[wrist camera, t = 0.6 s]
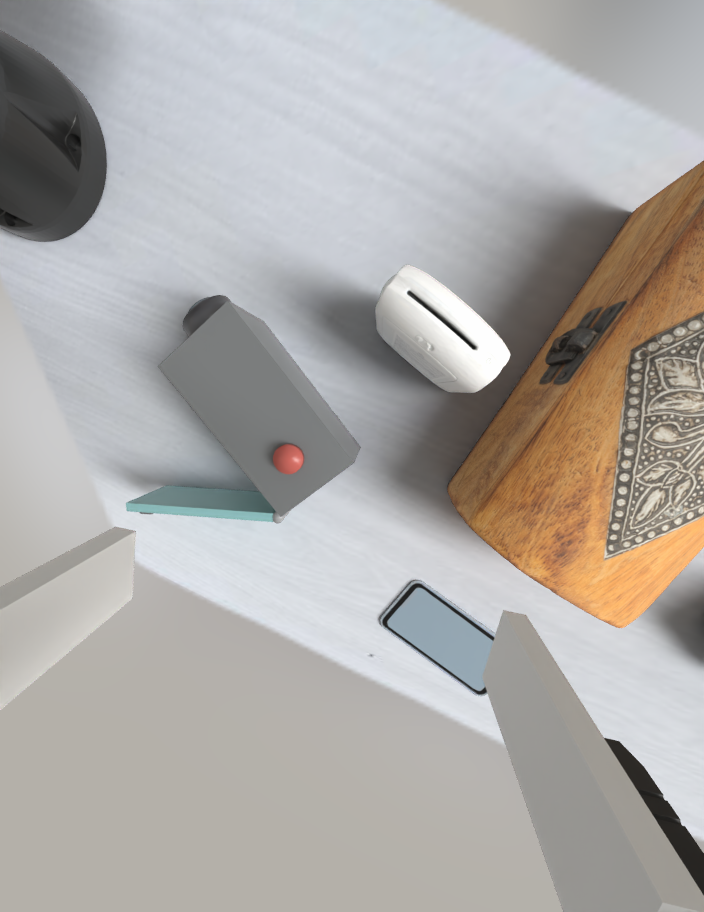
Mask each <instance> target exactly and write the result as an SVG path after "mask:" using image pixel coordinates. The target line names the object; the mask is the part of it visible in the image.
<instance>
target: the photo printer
mask: <svg viewBox="0 0 704 912" xmlns="http://www.w3.org/2000/svg"><path fill="white" fill-rule="evenodd" d="M375 312H376V328H377V332H378V333H379V335H380V336H381V337H382V338H383V340H384V341H385V342H386V343H387V344H389V345H390V346H391V347H392V348H393V349H394V350H395V351H396V352H397V353H398V354H400V355H401V356H402V357H403V358H404V359H405V360H406V361H408V362H409V363H410V364H411V365H412V366H414V367H415V368H416V369H417V370H418V371H419V372H421V373H422V374H423V375H424V376H426V377H427V378H428V379H429V380H431V381H432V382H433V383H434V384H436V385H437V386H438V387H440V388H442V389H443V390H445V391H447V392H463V393H475V392H477V391H479V390H480V389H482V388H483V387H485V386H486V385H487V384H489V383H490V382H491V381H493V380H494V379H495V378H496V377H497V376H498V374H499V373H500V372H501V370H502V368H503V367H504V366H505V365H506V363H507V362H508V360H509V358H510V352H509V350H508V348H507V346H506V345H505V343H504V342H503V340H502V339H501V338H500V337H499V336H498V334H497V333H496V332H495V331H494V330H493V329H492V328H491V327H490V326H489V325H488V324H487V323H486V322H485V321H484V320H483V319H482V318H481V317H480V316H479V315H478V314H477V313H476V312H475V311H474V310H473V309H472V308H470V307H469V306H468V305H467V304H466V303H465V302H464V301H462V300H461V299H460V298H459V297H458V296H456V295H455V294H454V293H453V292H451V291H450V290H449V289H448V288H446V287H445V286H444V285H443V284H441V283H440V282H439V281H437V280H436V279H434V278H433V277H431V276H430V275H428V274H427V273H425V272H424V271H422V270H420V269H418V268H416V267H413V266H410V265H405V266H404V267H402V268H401V269H400V271H399V272H398V273H397V274H396V275H394V276H393V277H391V278H390V279H389V280H388V281H387V283H386V284H385V285H384V287H383V289H382V291H381V294H380V299H379V301H378V303H377V305H376V308H375Z"/></svg>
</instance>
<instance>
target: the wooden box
mask: <svg viewBox="0 0 704 912" xmlns="http://www.w3.org/2000/svg"><path fill="white" fill-rule="evenodd" d="M447 490H448V494H449V496H450V498H451V500H452V503H453V505H454V507H455V508H456V510H457V512H458V513H459V514H460V516H461V517H463V519H464V521H465V522H466V523H467V524H468V526H469V527H470V528H471V529H472V530H473V531H474V532H475V533H476V534H478V535H479V536H480V537H481V538H482V539H483V540H484V541H485V542H486V543H487V544H489V545H490V546H491V547H492V548H493V549H494V550H495V551H497V552H498V553H499V554H500V555H501V556H503V557H504V558H505V559H507V560H508V561H509V562H510V563H511V564H513V565H514V566H515V567H516V568H518V569H519V570H521V571H522V572H523V573H525V574H526V575H528V576H529V577H530V578H532V579H534V580H535V581H537V582H538V583H540V584H541V585H543V586H544V587H546V588H548V589H550V590H551V591H552V592H554V593H555V594H557V595H559V596H560V597H562V598H563V599H565V600H567V601H568V602H570V603H572V604H573V605H575V606H577V607H579V608H580V609H582V610H584V611H586V612H587V613H589V614H591V615H593V616H594V617H596V618H598V619H600V620H602V621H604V622H606V623H608V624H610V625H613V626H615V627H618V628H623V627H626V626H627V625H628V624H630V623H631V622H633V621H634V620H635V619H637V618H638V617H639V616H640V615H641V614H642V613H643V612H644V611H645V610H646V609H647V608H648V607H649V606H650V605H651V604H652V603H653V602H654V601H655V600H656V599H657V598H658V597H659V596H660V594H661V593H662V592H663V591H664V590H665V589H666V588H667V587H668V586H669V584H670V583H671V582H672V581H673V580H674V579H675V578H676V577H677V575H678V574H679V573H680V572H681V571H682V570H683V569H684V568H685V567H686V566H687V565H688V564H689V563H690V561H691V560H692V559H693V558H694V557H695V556H696V555H697V554H698V553H699V551H700V550H701V549H702V548H703V547H704V161H702V162H701V163H700V164H698V165H697V166H695V167H694V168H693V169H691V170H690V171H688V172H687V173H685V174H684V175H683V176H681V177H680V178H678V179H677V180H676V181H674V182H673V183H671V184H670V185H669V186H667V187H666V188H664V189H663V190H662V191H660V192H659V193H657V194H656V195H655V196H653V197H652V198H651V199H649V200H648V201H646V202H645V203H644V204H642V205H641V206H640V207H638V208H637V209H636V210H635V211H634V212H633V213H632V214H631V215H630V216H629V217H628V219H627V220H626V221H625V223H624V224H623V226H622V227H621V229H620V230H619V232H618V233H617V235H616V236H615V238H614V240H613V241H612V243H611V244H610V246H609V247H608V249H607V250H606V252H605V253H604V255H603V256H602V258H601V259H600V261H599V262H598V264H597V266H596V267H595V269H594V270H593V272H592V273H591V275H590V276H589V278H588V279H587V281H586V282H585V284H584V285H583V287H582V288H581V289H580V291H579V292H578V294H577V295H576V297H575V298H574V300H573V301H572V303H571V304H570V306H569V307H568V309H567V310H566V312H565V313H564V315H563V316H562V318H561V319H560V321H559V322H558V324H557V325H556V327H555V329H554V330H553V332H552V333H551V334H550V336H549V338H548V339H547V341H546V342H545V343H544V345H543V346H542V348H541V349H540V351H539V352H538V354H537V355H536V357H535V358H534V360H533V361H532V363H531V364H530V366H529V367H528V369H527V370H526V372H525V373H524V375H523V376H522V377H521V379H520V380H519V382H518V383H517V385H516V386H515V388H514V390H513V391H512V393H511V395H510V396H509V398H508V399H507V401H506V402H505V403H504V405H503V406H502V407H501V409H500V410H499V411H498V413H497V414H496V416H495V417H494V419H493V420H492V422H491V423H490V424H489V426H488V427H487V429H486V430H485V432H484V433H483V435H482V436H481V437H480V439H479V440H478V442H477V443H476V445H475V446H474V448H473V449H472V451H471V452H470V454H469V455H468V456H467V458H466V459H465V461H464V462H463V464H462V465H461V466H460V468H459V469H458V471H457V472H456V474H455V475H454V476H453V478H452V479H451V481H450V482H449V484H448V487H447Z"/></svg>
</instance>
